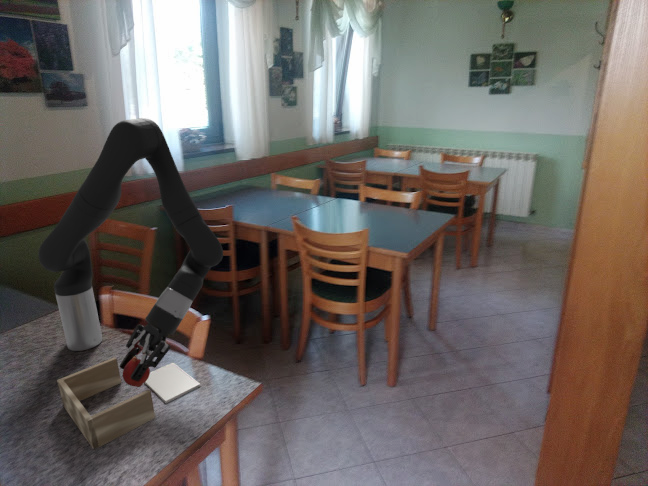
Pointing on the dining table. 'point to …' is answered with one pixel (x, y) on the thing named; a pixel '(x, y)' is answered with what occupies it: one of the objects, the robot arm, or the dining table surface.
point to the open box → (112, 419)
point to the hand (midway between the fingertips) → (128, 373)
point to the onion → (130, 369)
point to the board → (170, 382)
